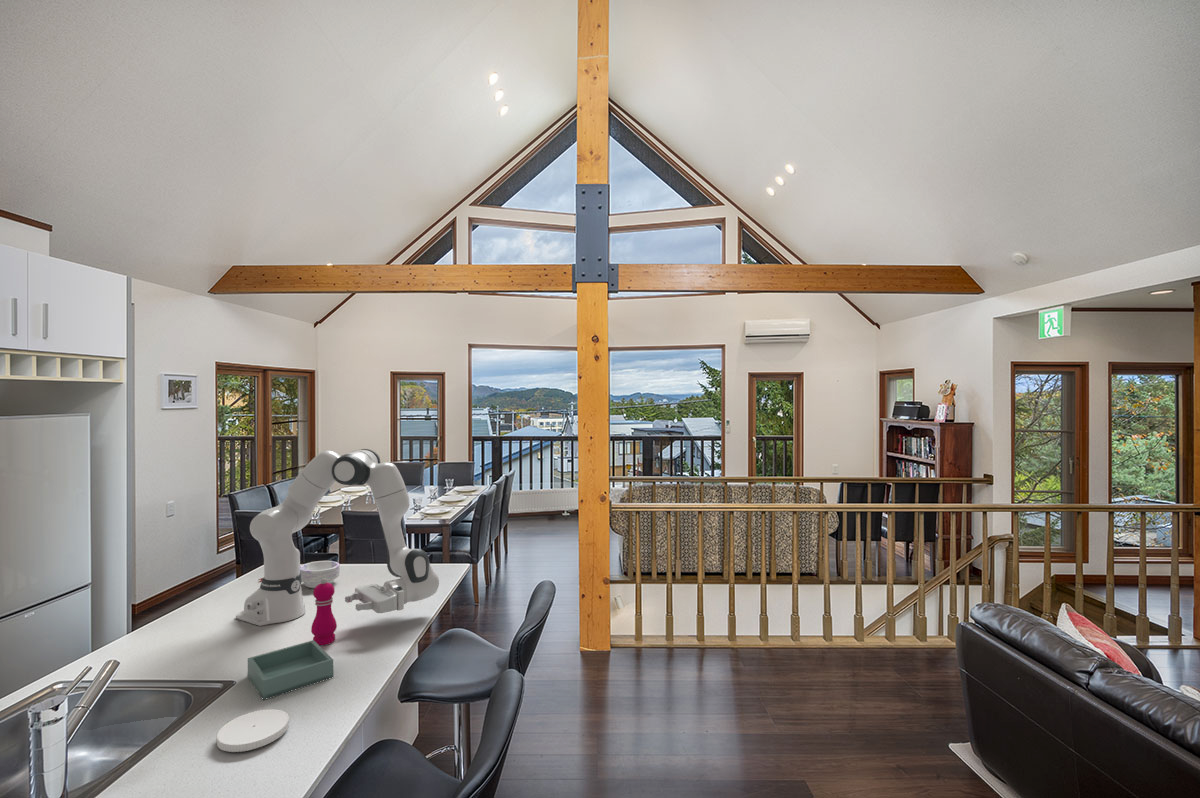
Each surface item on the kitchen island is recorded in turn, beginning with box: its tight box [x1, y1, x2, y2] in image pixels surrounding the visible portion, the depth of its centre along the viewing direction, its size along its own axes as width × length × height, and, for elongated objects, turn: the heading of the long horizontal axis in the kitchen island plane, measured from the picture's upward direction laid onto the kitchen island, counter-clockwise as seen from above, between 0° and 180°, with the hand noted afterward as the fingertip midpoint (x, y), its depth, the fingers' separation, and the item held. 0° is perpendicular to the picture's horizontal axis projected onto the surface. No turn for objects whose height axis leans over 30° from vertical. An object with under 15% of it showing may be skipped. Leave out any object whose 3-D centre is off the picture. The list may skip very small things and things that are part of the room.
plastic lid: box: [216, 708, 290, 753], centre depth 129 cm, size 14×14×2 cm
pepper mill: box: [310, 578, 338, 646], centre depth 178 cm, size 7×7×20 cm
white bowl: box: [300, 560, 341, 589], centre depth 233 cm, size 15×15×8 cm
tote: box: [247, 639, 334, 700], centre depth 156 cm, size 17×17×5 cm
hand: (350, 603), depth 184 cm, fingers open, 8 cm apart
